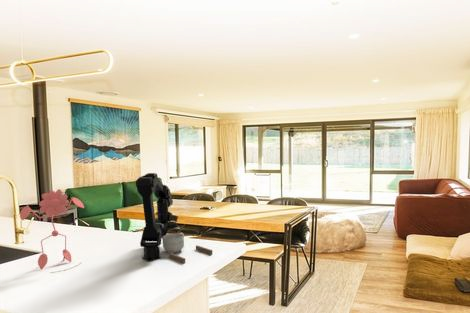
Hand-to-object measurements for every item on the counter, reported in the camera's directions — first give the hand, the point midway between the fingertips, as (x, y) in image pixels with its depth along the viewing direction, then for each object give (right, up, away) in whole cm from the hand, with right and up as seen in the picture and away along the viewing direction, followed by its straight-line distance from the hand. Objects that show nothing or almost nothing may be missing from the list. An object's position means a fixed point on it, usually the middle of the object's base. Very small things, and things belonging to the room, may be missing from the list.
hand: (163, 239), depth 183 cm
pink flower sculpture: (-42, -6, -28) cm, 51 cm away
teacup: (+8, -4, -8) cm, 12 cm away
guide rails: (+17, -4, -17) cm, 24 cm away
